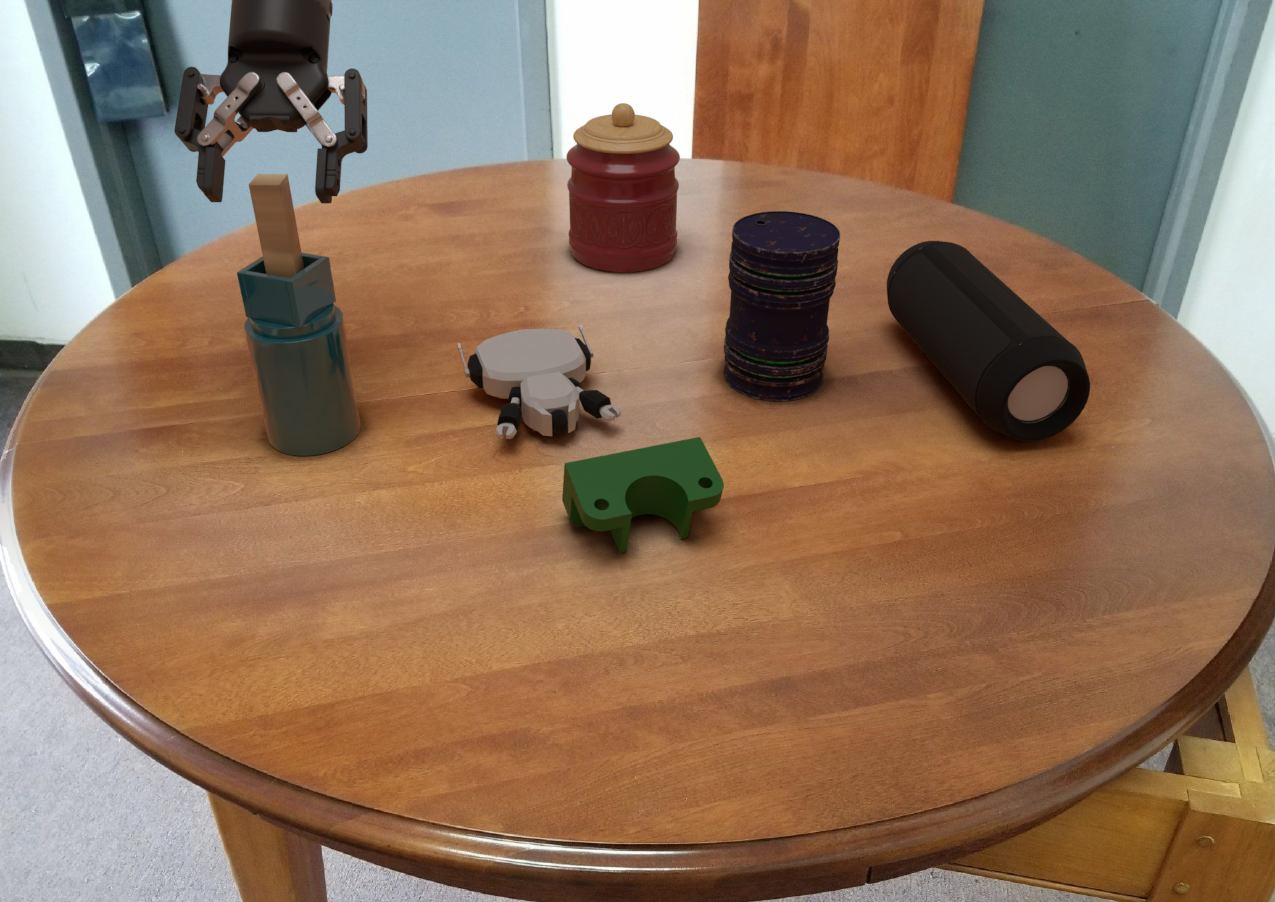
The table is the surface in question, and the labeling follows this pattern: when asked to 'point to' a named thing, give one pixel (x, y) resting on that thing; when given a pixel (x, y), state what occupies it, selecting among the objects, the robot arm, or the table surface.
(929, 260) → the portable speaker
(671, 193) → the kitchen canister
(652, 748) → the table surface
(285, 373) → the bottle
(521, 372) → the robot toy
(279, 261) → the stick
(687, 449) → the clamp
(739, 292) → the dark blue cylinder
